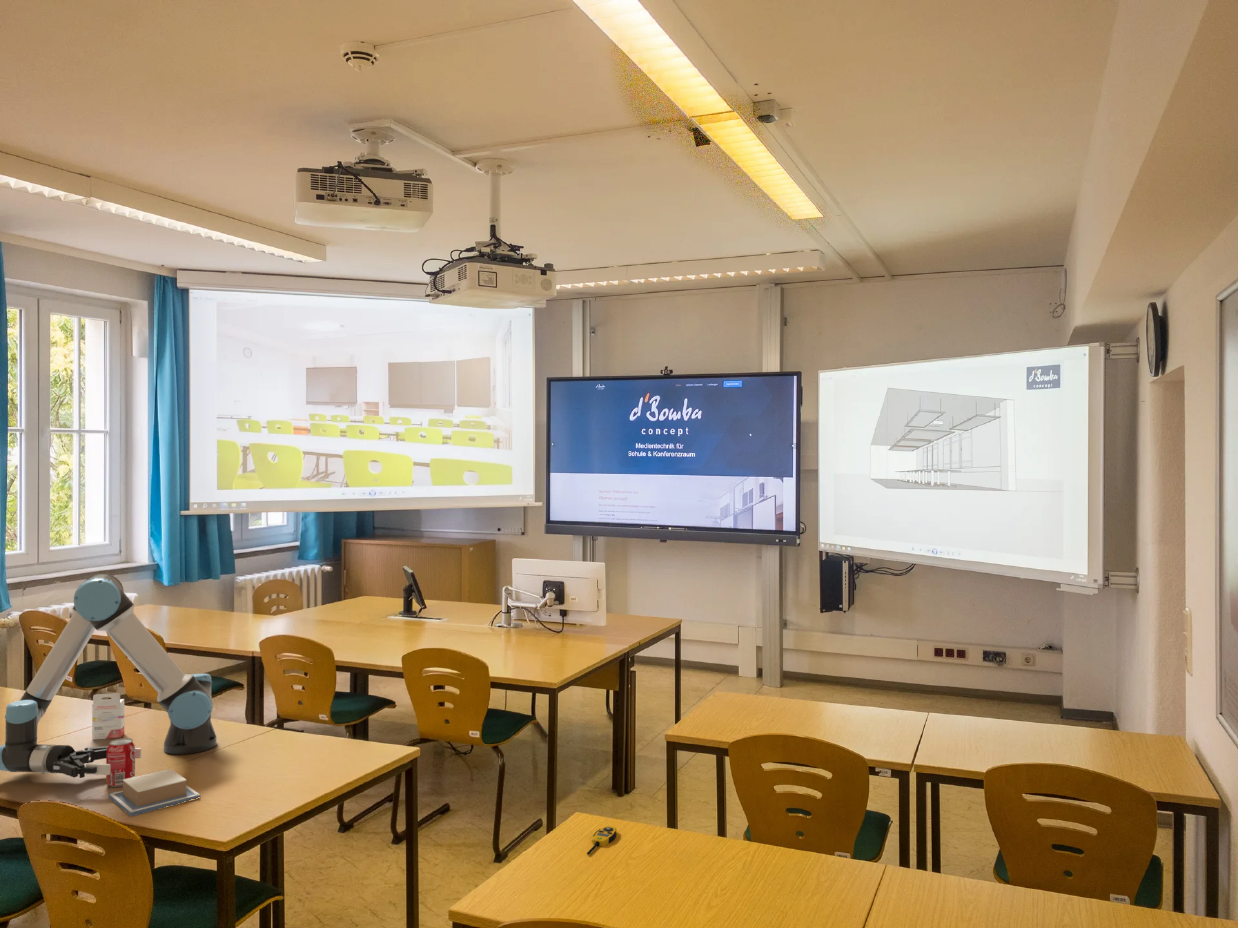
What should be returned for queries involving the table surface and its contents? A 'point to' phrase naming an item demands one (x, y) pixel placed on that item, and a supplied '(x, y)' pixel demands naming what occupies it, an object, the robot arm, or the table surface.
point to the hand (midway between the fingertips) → (125, 761)
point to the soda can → (120, 761)
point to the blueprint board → (152, 792)
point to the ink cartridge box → (107, 716)
